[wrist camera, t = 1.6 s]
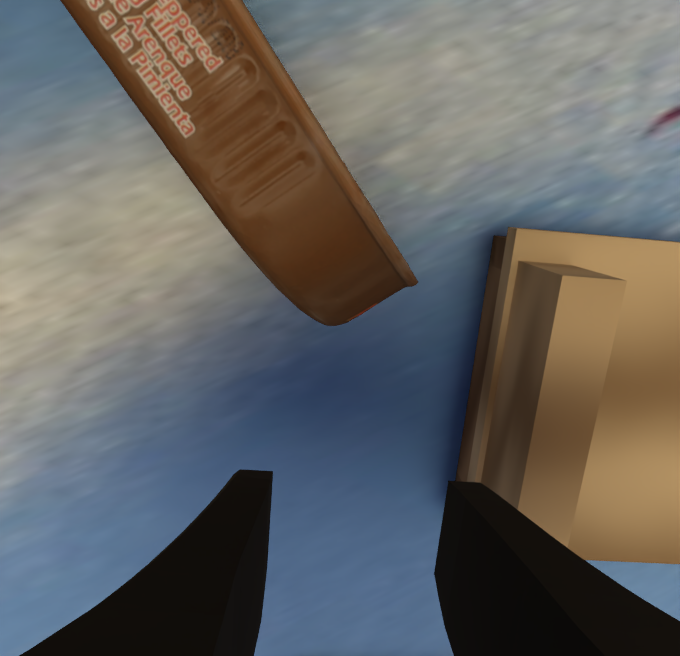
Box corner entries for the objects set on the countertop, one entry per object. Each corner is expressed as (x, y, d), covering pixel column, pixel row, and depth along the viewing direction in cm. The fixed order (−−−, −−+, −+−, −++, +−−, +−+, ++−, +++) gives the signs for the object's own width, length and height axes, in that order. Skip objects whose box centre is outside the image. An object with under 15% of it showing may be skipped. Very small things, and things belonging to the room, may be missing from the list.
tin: (401, 254, 18) (471, 305, 10) (325, 304, 18) (333, 394, 10) (117, -198, 15) (-131, -691, 6) (30, -126, 15) (-313, -510, 7)
